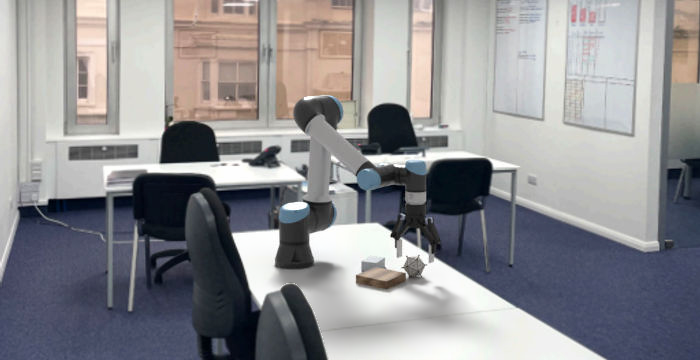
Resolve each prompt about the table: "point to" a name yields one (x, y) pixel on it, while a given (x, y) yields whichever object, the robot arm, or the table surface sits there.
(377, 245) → the table surface
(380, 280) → the plinth
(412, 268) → the game die
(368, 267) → the card box
